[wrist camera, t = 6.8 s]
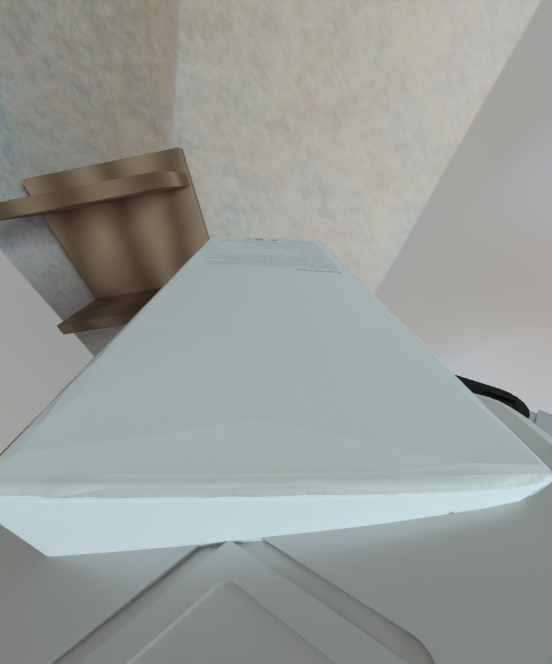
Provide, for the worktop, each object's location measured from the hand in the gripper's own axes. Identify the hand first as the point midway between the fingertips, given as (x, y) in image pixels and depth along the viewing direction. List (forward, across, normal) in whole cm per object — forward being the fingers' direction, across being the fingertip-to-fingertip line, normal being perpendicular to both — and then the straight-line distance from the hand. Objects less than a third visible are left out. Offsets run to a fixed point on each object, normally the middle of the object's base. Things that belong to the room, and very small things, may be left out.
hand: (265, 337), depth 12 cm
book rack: (+24, +16, -2) cm, 29 cm away
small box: (+5, 0, 0) cm, 5 cm away
